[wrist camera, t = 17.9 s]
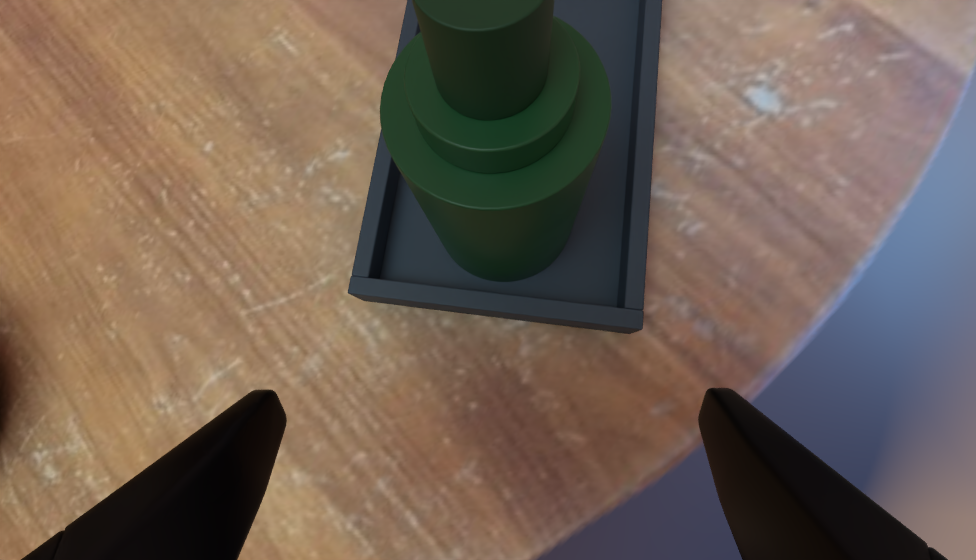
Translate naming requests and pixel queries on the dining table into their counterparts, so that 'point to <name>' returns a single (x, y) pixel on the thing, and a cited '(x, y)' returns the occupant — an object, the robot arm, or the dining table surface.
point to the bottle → (496, 129)
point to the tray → (599, 222)
